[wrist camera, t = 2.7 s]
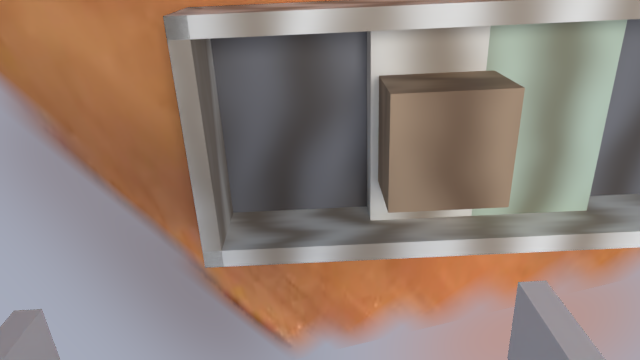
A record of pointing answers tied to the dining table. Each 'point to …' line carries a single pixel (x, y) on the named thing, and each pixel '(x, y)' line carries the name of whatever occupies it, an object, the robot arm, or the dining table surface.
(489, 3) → the box
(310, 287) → the dining table surface
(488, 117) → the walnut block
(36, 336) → the robot arm
